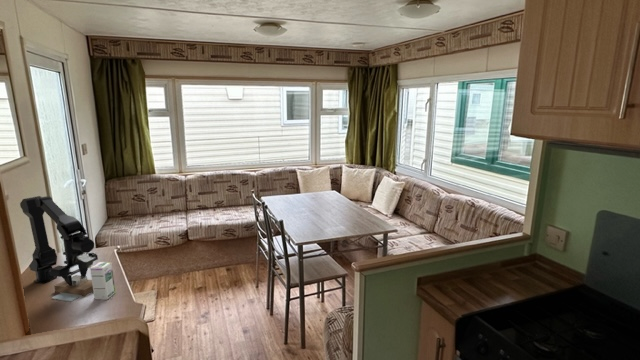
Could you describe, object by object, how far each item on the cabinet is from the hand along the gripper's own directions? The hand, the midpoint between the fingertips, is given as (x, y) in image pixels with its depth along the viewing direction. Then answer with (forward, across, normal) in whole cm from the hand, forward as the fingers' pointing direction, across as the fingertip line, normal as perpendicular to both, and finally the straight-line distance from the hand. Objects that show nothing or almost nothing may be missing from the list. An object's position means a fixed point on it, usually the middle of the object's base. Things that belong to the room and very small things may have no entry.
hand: (77, 282), depth 153 cm
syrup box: (+4, -2, -16) cm, 17 cm away
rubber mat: (+4, -7, -1) cm, 8 cm away
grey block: (0, 0, 0) cm, 0 cm away
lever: (0, +5, +4) cm, 7 cm away
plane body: (+4, 0, 0) cm, 4 cm away
